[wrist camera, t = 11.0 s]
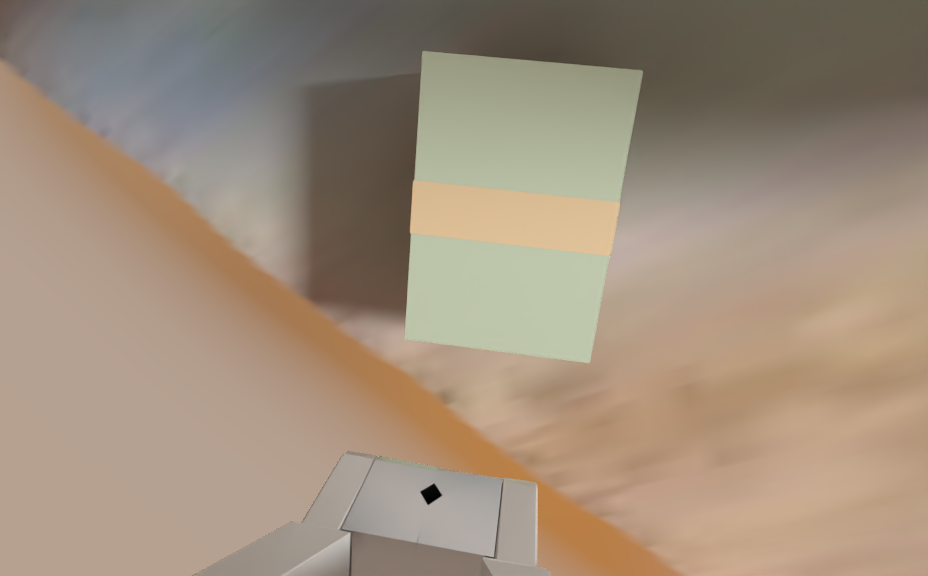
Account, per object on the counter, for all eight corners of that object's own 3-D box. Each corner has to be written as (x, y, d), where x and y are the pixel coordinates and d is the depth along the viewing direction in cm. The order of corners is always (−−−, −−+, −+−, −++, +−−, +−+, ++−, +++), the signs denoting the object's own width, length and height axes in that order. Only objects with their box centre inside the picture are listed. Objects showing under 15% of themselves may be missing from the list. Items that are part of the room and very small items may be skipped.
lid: (424, 53, 22) (421, 50, 22) (640, 72, 22) (645, 70, 21) (406, 332, 27) (403, 339, 26) (588, 356, 26) (590, 363, 25)
